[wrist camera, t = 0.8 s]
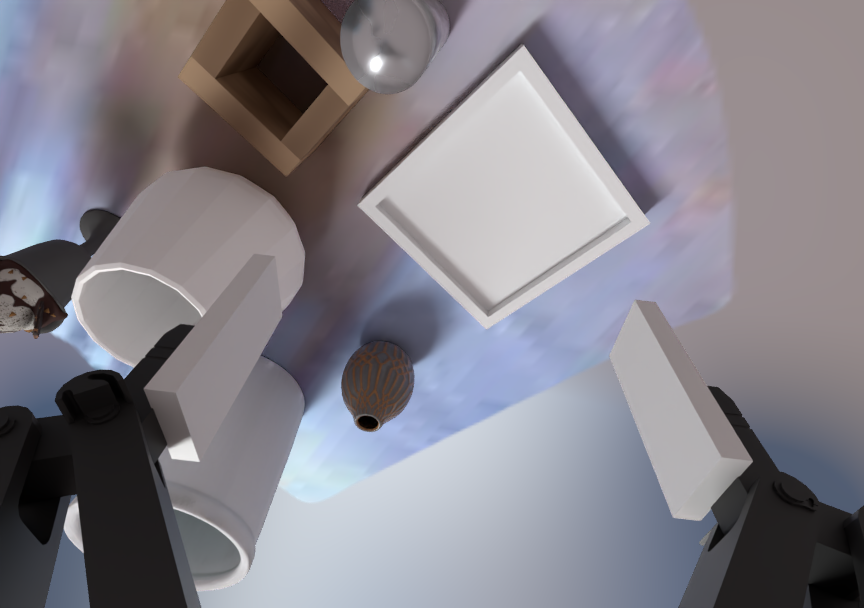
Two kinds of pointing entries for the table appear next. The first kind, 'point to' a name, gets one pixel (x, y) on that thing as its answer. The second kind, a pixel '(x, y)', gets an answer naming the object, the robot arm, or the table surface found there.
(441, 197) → the tray
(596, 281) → the table surface
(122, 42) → the table surface
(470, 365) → the table surface
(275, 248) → the cup
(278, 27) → the wooden square holder
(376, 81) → the pin
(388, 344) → the vase
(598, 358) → the table surface
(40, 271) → the sundae
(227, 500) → the utensil holder
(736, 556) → the robot arm
